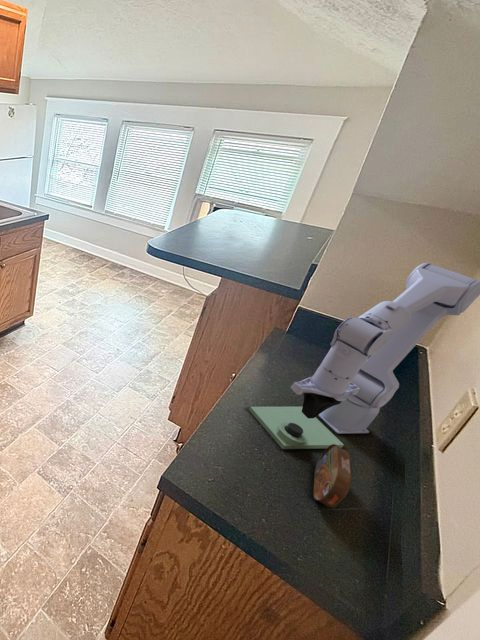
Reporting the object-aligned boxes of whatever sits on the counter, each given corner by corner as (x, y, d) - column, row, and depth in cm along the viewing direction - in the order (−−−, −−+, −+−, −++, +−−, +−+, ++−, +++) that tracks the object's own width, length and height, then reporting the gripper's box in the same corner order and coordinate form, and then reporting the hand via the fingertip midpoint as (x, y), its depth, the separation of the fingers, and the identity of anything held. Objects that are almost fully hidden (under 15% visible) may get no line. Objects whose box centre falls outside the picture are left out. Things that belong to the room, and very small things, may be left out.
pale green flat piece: (302, 409, 102) (307, 401, 100) (343, 449, 91) (349, 441, 90) (248, 409, 100) (253, 401, 98) (283, 451, 89) (289, 442, 88)
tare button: (293, 427, 92) (296, 422, 91) (303, 437, 90) (306, 432, 89) (282, 427, 92) (285, 422, 91) (291, 438, 89) (295, 433, 88)
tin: (315, 460, 88) (334, 435, 84) (332, 468, 86) (352, 443, 82) (312, 507, 77) (333, 482, 73) (331, 518, 75) (353, 492, 71)
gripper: (323, 383, 76) (292, 429, 83) (385, 383, 78) (350, 429, 85) (296, 359, 83) (269, 404, 89) (354, 360, 84) (324, 404, 91)
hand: (307, 415), depth 87 cm, fingers closed
